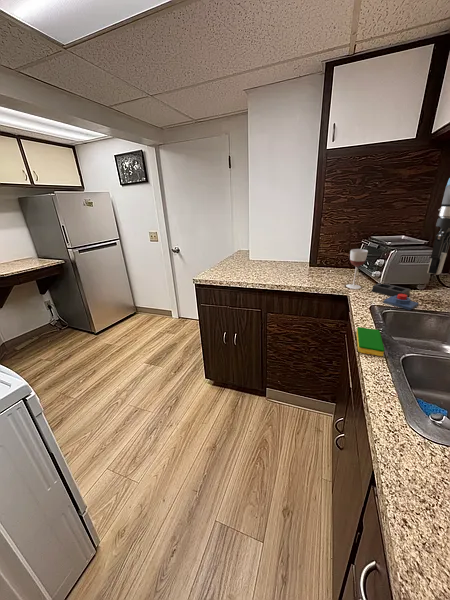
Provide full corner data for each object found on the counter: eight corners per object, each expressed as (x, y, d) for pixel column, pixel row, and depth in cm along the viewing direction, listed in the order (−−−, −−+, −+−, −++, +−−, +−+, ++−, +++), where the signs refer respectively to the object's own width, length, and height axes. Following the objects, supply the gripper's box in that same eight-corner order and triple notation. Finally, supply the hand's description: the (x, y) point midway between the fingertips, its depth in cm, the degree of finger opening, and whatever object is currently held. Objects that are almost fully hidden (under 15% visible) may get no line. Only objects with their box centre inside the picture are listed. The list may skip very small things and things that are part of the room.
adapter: (409, 294, 123) (410, 289, 121) (402, 298, 119) (403, 293, 117) (379, 287, 133) (380, 282, 132) (371, 291, 129) (373, 285, 128)
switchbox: (417, 305, 111) (419, 299, 110) (410, 310, 107) (412, 303, 106) (391, 298, 120) (392, 292, 119) (383, 302, 116) (384, 296, 114)
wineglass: (347, 289, 134) (353, 252, 126) (343, 283, 142) (348, 249, 134) (363, 289, 132) (370, 252, 124) (358, 284, 140) (364, 248, 132)
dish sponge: (378, 335, 90) (379, 329, 89) (383, 356, 78) (384, 350, 77) (356, 332, 93) (357, 326, 92) (358, 352, 81) (359, 346, 80)
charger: (441, 273, 110) (447, 253, 107) (437, 274, 108) (443, 254, 105) (430, 271, 113) (435, 251, 110) (426, 273, 111) (432, 253, 108)
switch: (407, 298, 112) (408, 295, 111) (404, 300, 110) (405, 297, 109) (398, 296, 115) (399, 293, 114) (395, 298, 113) (396, 295, 112)
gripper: (445, 215, 109) (431, 267, 118) (430, 218, 100) (416, 274, 109) (468, 215, 103) (451, 270, 112) (454, 219, 94) (437, 277, 103)
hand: (434, 272), depth 110 cm, fingers closed on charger, 4 cm apart
